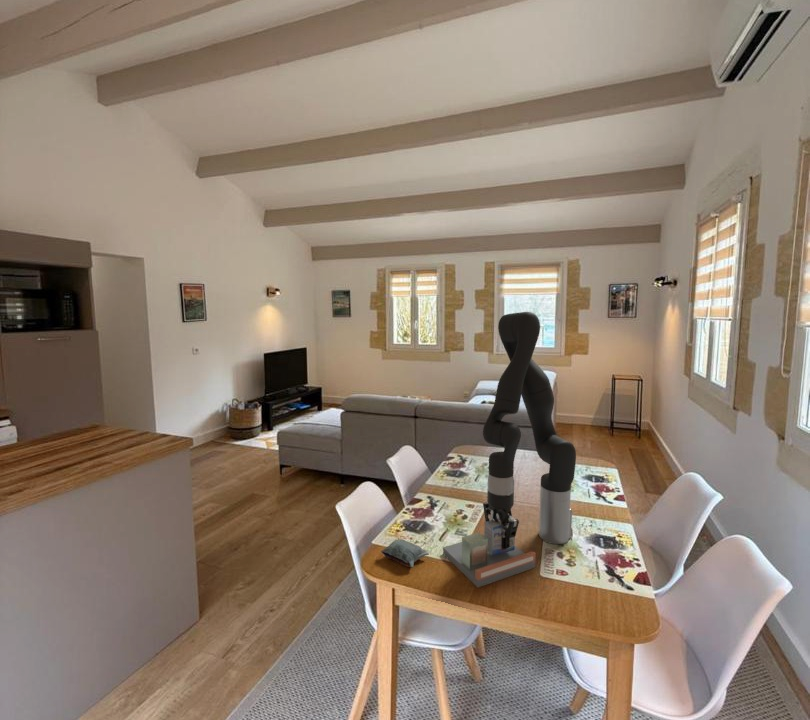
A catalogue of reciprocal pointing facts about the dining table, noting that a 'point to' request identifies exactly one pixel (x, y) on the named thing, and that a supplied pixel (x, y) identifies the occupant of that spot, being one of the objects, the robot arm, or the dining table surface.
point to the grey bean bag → (404, 552)
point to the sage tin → (474, 551)
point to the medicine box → (496, 538)
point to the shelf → (492, 564)
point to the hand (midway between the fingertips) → (499, 543)
